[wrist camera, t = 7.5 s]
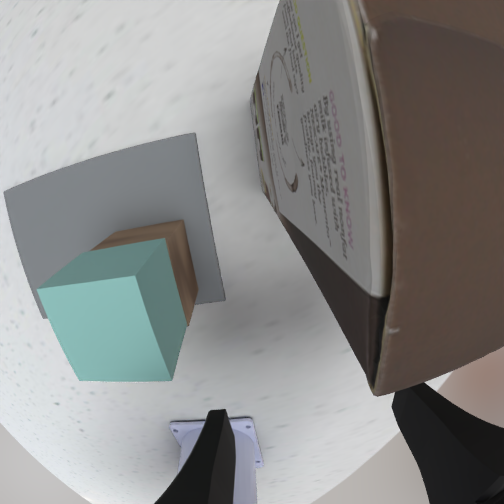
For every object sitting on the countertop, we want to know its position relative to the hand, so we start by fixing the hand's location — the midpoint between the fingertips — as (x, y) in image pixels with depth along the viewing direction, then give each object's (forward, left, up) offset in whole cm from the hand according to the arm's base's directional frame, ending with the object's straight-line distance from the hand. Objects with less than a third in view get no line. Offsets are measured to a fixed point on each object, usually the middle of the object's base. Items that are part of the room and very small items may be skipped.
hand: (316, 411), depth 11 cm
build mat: (+6, +12, -10) cm, 17 cm away
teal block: (+4, +8, -6) cm, 11 cm away
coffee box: (+10, -4, -11) cm, 15 cm away
